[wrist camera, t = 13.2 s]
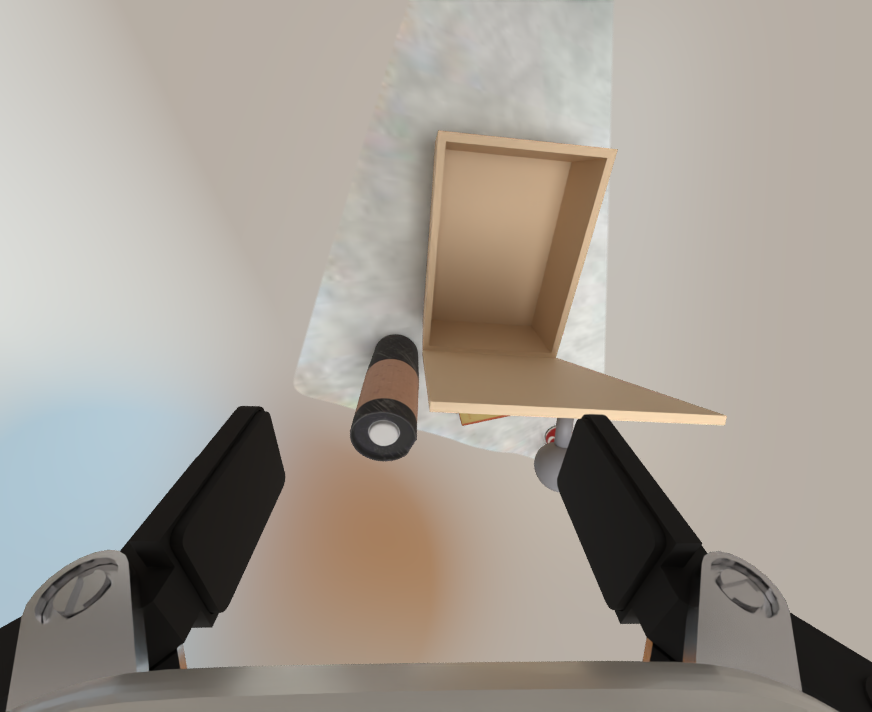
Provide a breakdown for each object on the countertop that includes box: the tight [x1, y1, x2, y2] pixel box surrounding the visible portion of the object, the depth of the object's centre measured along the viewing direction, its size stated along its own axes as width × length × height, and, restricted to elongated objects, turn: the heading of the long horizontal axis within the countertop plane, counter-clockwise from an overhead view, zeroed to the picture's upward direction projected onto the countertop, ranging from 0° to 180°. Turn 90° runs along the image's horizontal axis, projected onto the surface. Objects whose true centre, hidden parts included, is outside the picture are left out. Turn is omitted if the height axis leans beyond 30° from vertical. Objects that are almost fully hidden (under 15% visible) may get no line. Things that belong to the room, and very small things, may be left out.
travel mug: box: [350, 335, 419, 461], centre depth 45 cm, size 8×8×20 cm
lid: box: [422, 350, 727, 492], centre depth 31 cm, size 24×18×6 cm
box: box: [423, 131, 618, 358], centre depth 42 cm, size 24×18×10 cm
